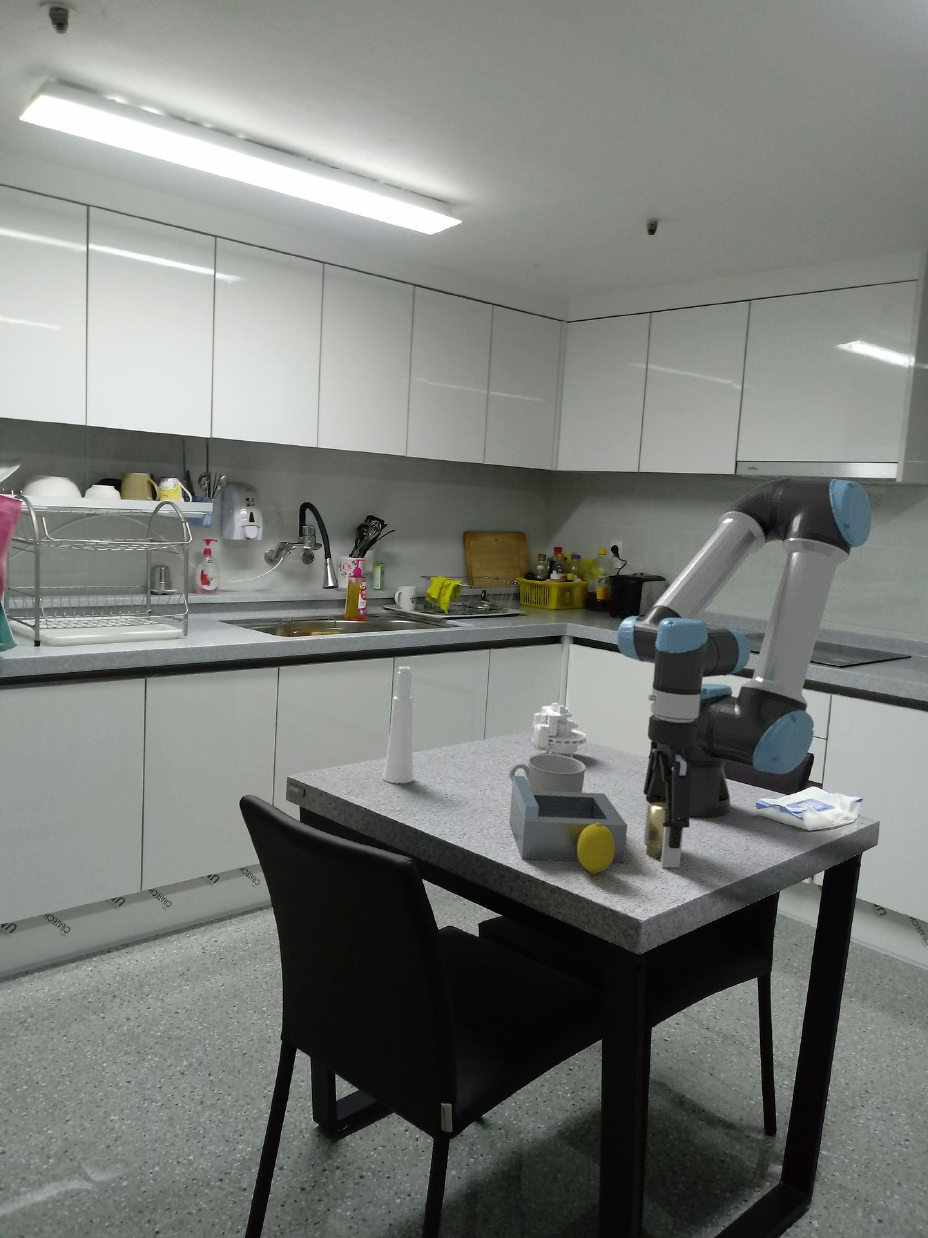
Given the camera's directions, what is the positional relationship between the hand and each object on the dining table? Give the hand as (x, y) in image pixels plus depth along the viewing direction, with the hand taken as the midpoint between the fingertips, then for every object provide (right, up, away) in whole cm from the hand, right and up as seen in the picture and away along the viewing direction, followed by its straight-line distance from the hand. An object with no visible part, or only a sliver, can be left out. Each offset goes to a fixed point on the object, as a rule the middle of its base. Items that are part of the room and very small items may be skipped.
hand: (660, 853), depth 149 cm
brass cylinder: (0, 0, 0) cm, 0 cm away
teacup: (-17, +3, +23) cm, 28 cm away
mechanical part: (-11, +7, +56) cm, 57 cm away
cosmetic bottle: (-44, +6, +31) cm, 55 cm away
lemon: (-12, -1, -10) cm, 16 cm away
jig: (-15, +1, +3) cm, 16 cm away
